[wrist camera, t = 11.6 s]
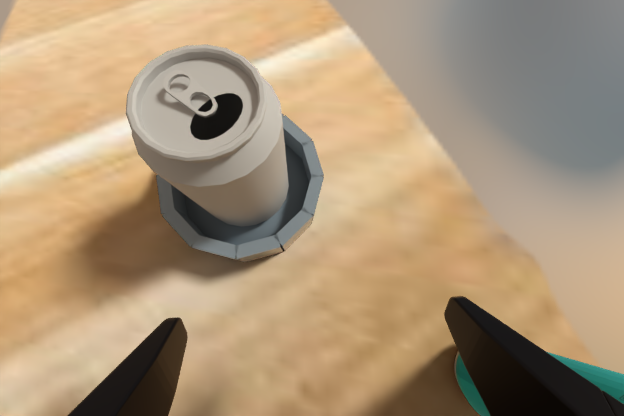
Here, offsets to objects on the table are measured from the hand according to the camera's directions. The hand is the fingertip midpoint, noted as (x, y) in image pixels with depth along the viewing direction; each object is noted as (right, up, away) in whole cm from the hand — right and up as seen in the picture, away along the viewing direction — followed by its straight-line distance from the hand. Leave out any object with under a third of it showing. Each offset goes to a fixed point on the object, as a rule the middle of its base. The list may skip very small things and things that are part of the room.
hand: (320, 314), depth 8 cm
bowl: (-6, +5, +15) cm, 17 cm away
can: (-6, +5, +14) cm, 17 cm away
